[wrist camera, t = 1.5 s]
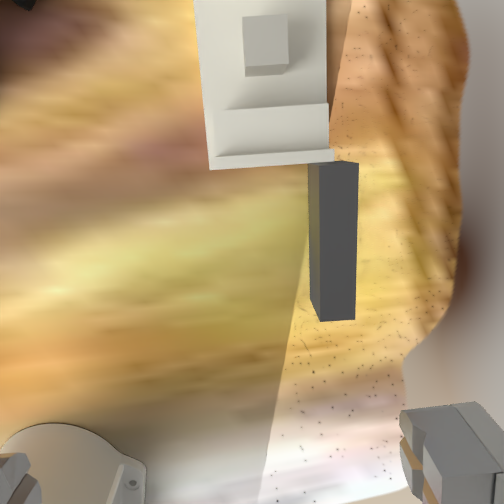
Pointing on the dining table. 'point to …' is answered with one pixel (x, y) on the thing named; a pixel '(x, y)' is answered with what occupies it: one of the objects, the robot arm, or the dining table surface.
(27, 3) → the handheld gaming console
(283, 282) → the dining table surface
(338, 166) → the tall charcoal prism
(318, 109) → the display stand
